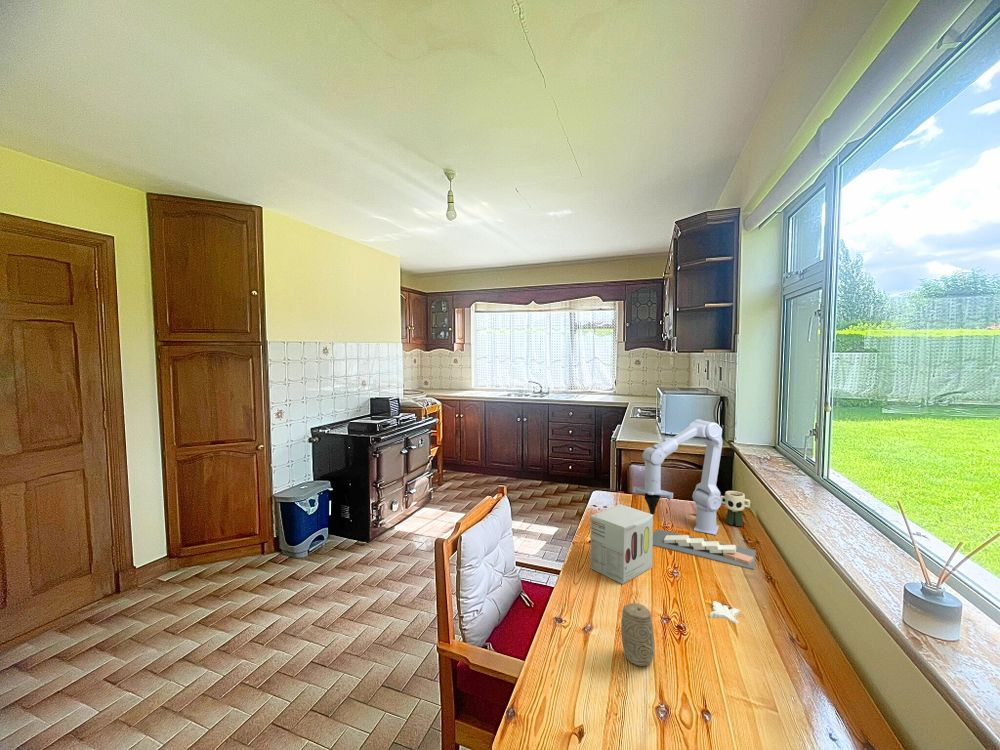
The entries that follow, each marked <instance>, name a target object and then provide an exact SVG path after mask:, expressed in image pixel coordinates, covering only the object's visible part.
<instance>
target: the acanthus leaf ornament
mask: <svg viewBox="0 0 1000 750" xmlns="http://www.w3.org/2000/svg"><path fill="white" fill-rule="evenodd" d="M711 606H712V611H710V612H709V618H710V619H711V618H714V619H716V618H717V619H724V620H728V621H730V622H732V623H733V624H736V625H737V624H739V623H740V622H739V621H738V620H737V619H736V618H735V617H736V616H738V615H739V613H740V612H741V611H740V609H739V608H738V609H737V608H734V607H733V608H730V609H729V607H728V606H727V605H724V604H722V603H721V602H718V601H716V600H714V601H712V605H711Z"/></svg>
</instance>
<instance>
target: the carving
mask: <svg viewBox="0 0 1000 750" xmlns="http://www.w3.org/2000/svg"><path fill="white" fill-rule="evenodd" d="M622 608H623V609H622V614H621V625H620V627H621V628H620V633H621V642H622V643H621V645H622V647H623V652H624V656H625V658H626V659H627V660H628V661H629V663H632V664H633V665H636V666H639V667H643V666H644V667H645V666H648V665H650V664H651V663H652V662H653V661H654V657H655V637H654V635H653V634H654V627H653V619H652V614H651V611H650V610H649V608H647V606H645V605H644V604H642V603H639V602H632V603H627V604H626V605H624V606H623V607H622Z"/></svg>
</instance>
